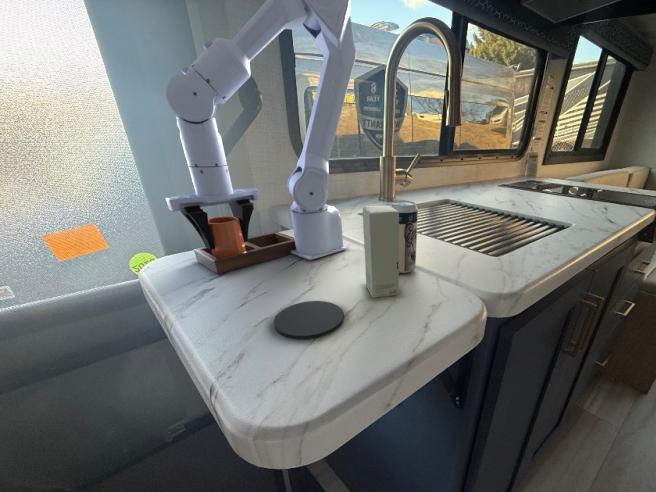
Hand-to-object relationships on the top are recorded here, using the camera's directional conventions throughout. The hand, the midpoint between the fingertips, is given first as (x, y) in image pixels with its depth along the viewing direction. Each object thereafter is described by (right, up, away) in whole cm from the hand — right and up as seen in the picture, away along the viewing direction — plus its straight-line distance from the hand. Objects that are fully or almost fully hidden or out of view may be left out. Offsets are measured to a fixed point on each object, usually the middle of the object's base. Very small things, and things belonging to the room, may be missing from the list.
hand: (227, 244), depth 59 cm
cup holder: (+2, -2, +4) cm, 5 cm away
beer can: (+33, -5, 0) cm, 33 cm away
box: (+29, -9, -8) cm, 32 cm away
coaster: (+20, -13, -17) cm, 29 cm away
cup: (0, -3, +2) cm, 3 cm away
